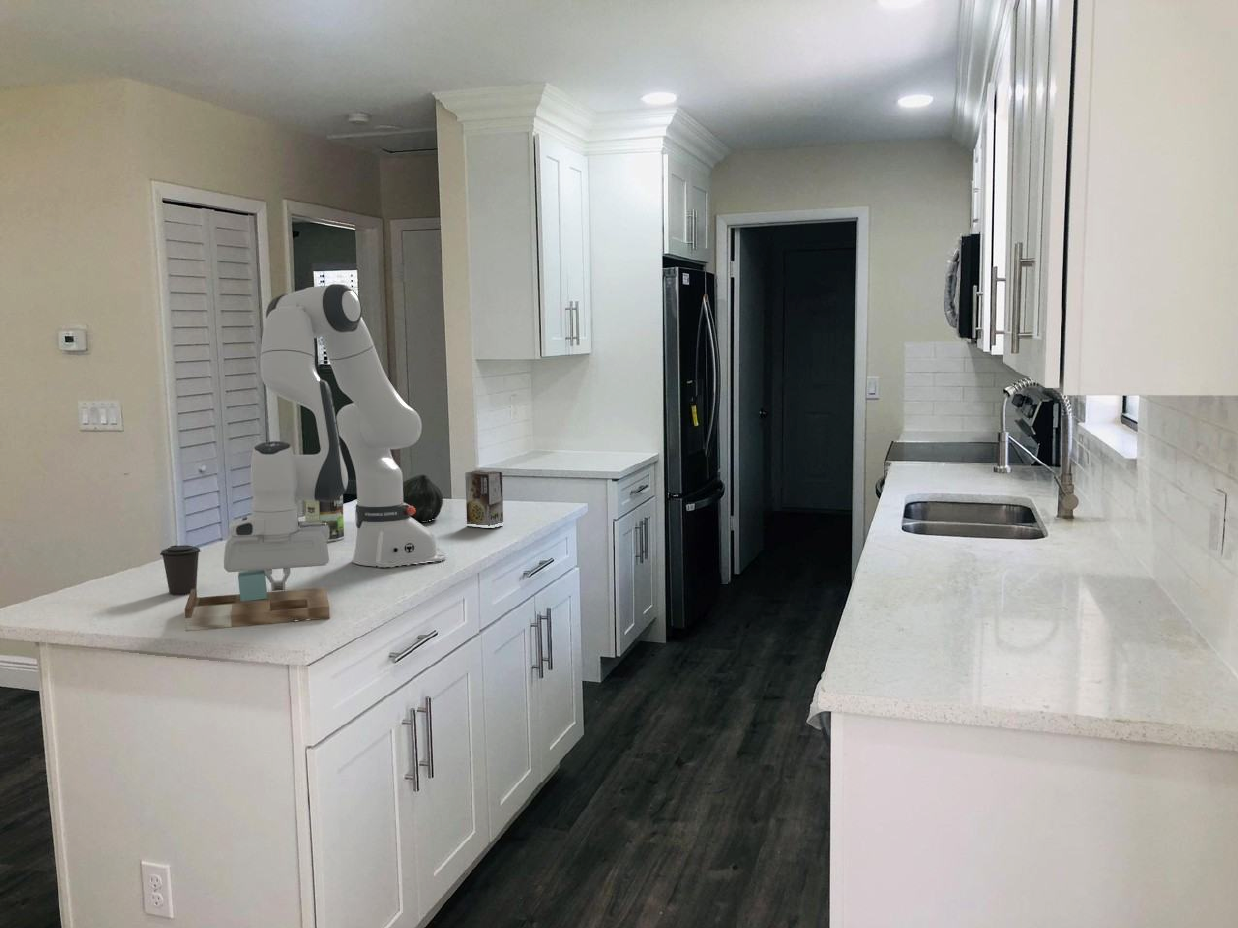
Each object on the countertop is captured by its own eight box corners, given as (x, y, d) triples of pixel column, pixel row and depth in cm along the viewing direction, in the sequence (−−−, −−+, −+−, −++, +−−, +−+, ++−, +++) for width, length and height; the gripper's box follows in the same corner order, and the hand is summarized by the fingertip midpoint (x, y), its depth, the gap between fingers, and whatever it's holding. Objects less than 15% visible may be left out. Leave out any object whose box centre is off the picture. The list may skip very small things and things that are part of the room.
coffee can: (349, 535, 282) (347, 485, 281) (338, 542, 272) (336, 490, 270) (312, 535, 283) (310, 485, 281) (300, 542, 272) (298, 490, 271)
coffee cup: (173, 587, 223) (170, 542, 222) (209, 587, 223) (207, 543, 222) (155, 596, 215) (152, 550, 214) (193, 596, 215) (190, 550, 214)
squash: (389, 498, 312) (393, 466, 301) (438, 498, 316) (443, 466, 305) (392, 535, 303) (396, 503, 292) (442, 534, 307) (448, 503, 296)
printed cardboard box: (504, 526, 296) (503, 471, 294) (489, 529, 290) (488, 474, 288) (480, 523, 301) (479, 469, 299) (465, 526, 295) (464, 471, 293)
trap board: (325, 598, 213) (325, 579, 213) (329, 618, 198) (328, 597, 198) (192, 609, 205) (191, 589, 205) (185, 630, 190) (184, 609, 190)
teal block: (266, 592, 208) (264, 568, 207) (267, 598, 203) (264, 574, 203) (241, 596, 206) (238, 572, 206) (240, 601, 202) (238, 577, 201)
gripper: (328, 517, 211) (330, 582, 212) (222, 523, 204) (226, 590, 206) (330, 522, 205) (332, 589, 207) (221, 528, 198) (224, 597, 200)
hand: (278, 589), depth 206 cm, fingers closed
